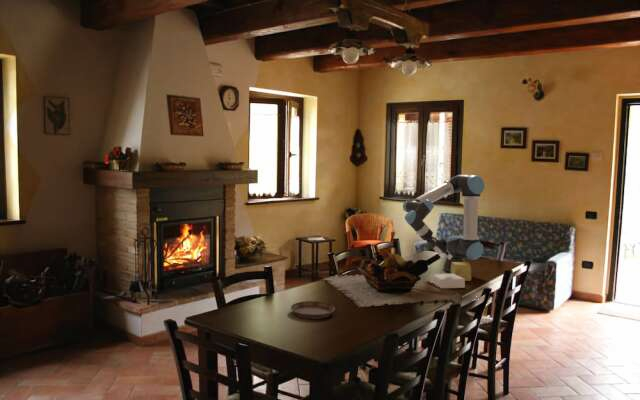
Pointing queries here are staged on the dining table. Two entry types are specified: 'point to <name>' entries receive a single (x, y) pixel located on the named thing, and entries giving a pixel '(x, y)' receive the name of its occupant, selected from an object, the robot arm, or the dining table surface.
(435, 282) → the stand
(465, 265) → the cheese
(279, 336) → the dining table surface
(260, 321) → the dining table surface
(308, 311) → the plant saucer
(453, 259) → the robot arm
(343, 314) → the dining table surface
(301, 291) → the dining table surface
